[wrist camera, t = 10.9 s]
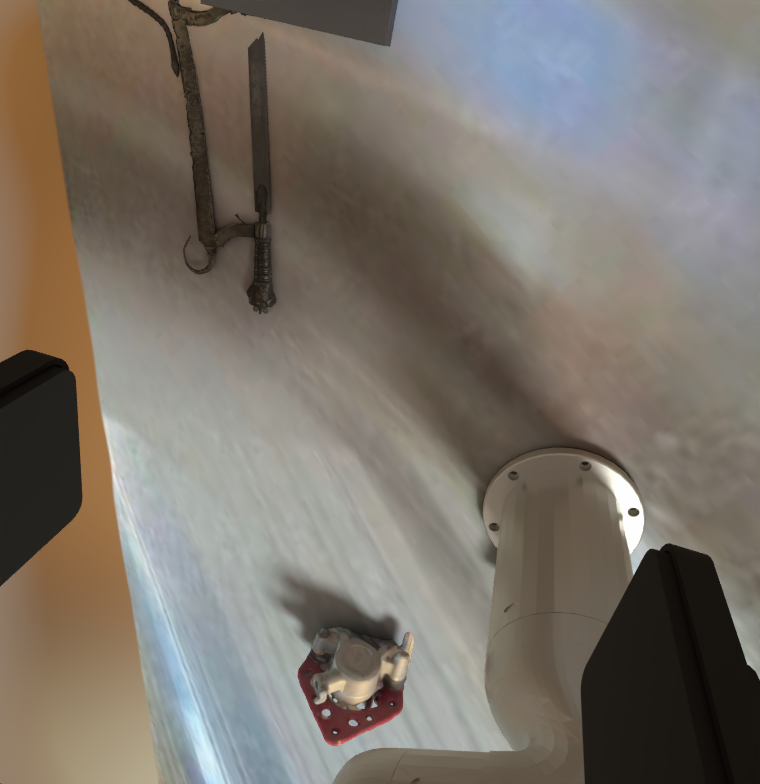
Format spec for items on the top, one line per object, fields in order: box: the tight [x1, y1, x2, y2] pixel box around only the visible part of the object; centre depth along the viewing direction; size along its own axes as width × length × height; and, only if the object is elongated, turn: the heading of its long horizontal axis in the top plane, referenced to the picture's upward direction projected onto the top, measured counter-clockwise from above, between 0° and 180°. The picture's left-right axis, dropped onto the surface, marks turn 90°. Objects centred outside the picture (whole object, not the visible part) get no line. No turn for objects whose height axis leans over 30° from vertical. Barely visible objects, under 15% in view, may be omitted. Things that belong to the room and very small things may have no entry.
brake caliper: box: [298, 627, 414, 746], centre depth 61 cm, size 11×10×11 cm
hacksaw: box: [128, 0, 276, 314], centre depth 44 cm, size 24×10×2 cm, turn 178°
